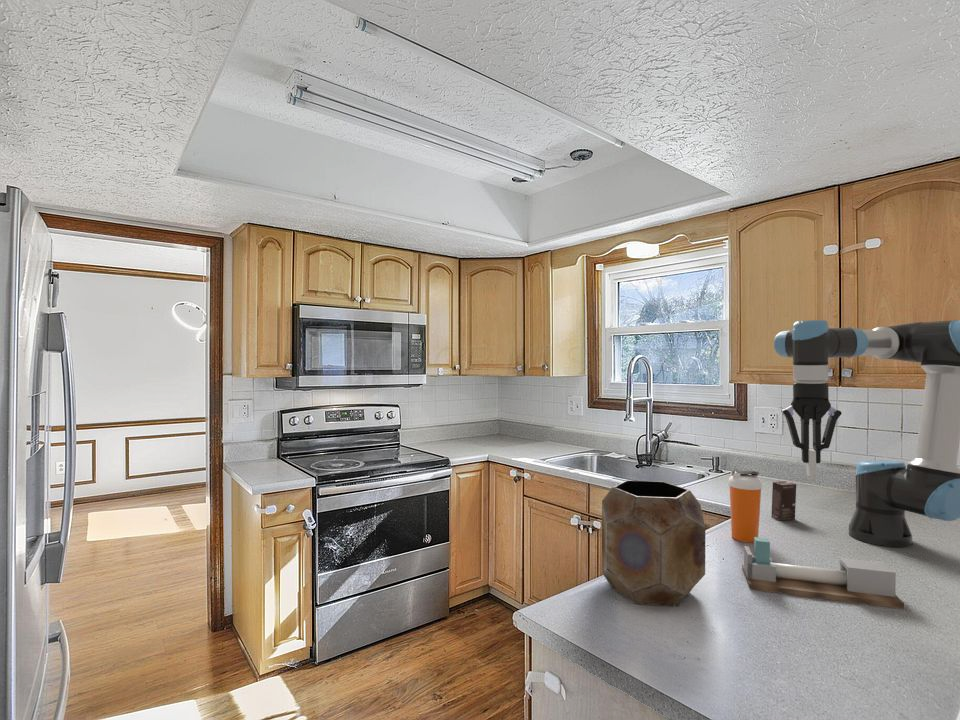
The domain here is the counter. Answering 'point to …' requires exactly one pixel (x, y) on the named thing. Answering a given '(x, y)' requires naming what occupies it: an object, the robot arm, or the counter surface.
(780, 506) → the box
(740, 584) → the counter surface
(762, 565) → the socket
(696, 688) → the counter surface
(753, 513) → the shaker bottle
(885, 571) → the sleeve
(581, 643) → the counter surface
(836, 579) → the bolt
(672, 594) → the planter
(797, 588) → the board
